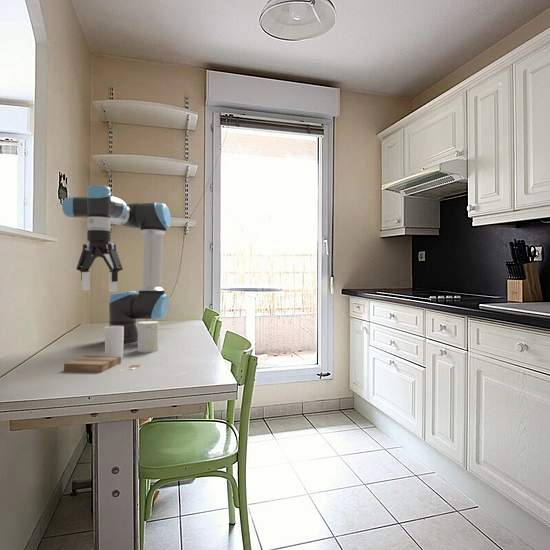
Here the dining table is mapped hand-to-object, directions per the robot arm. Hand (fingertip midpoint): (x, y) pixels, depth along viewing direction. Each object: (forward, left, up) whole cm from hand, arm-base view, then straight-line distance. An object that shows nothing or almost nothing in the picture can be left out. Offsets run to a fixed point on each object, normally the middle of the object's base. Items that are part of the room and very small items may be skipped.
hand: (99, 290), depth 145 cm
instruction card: (+4, +14, -26) cm, 30 cm away
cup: (-25, +7, -26) cm, 37 cm away
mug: (-12, 0, -26) cm, 29 cm away
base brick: (+4, 0, -26) cm, 27 cm away
